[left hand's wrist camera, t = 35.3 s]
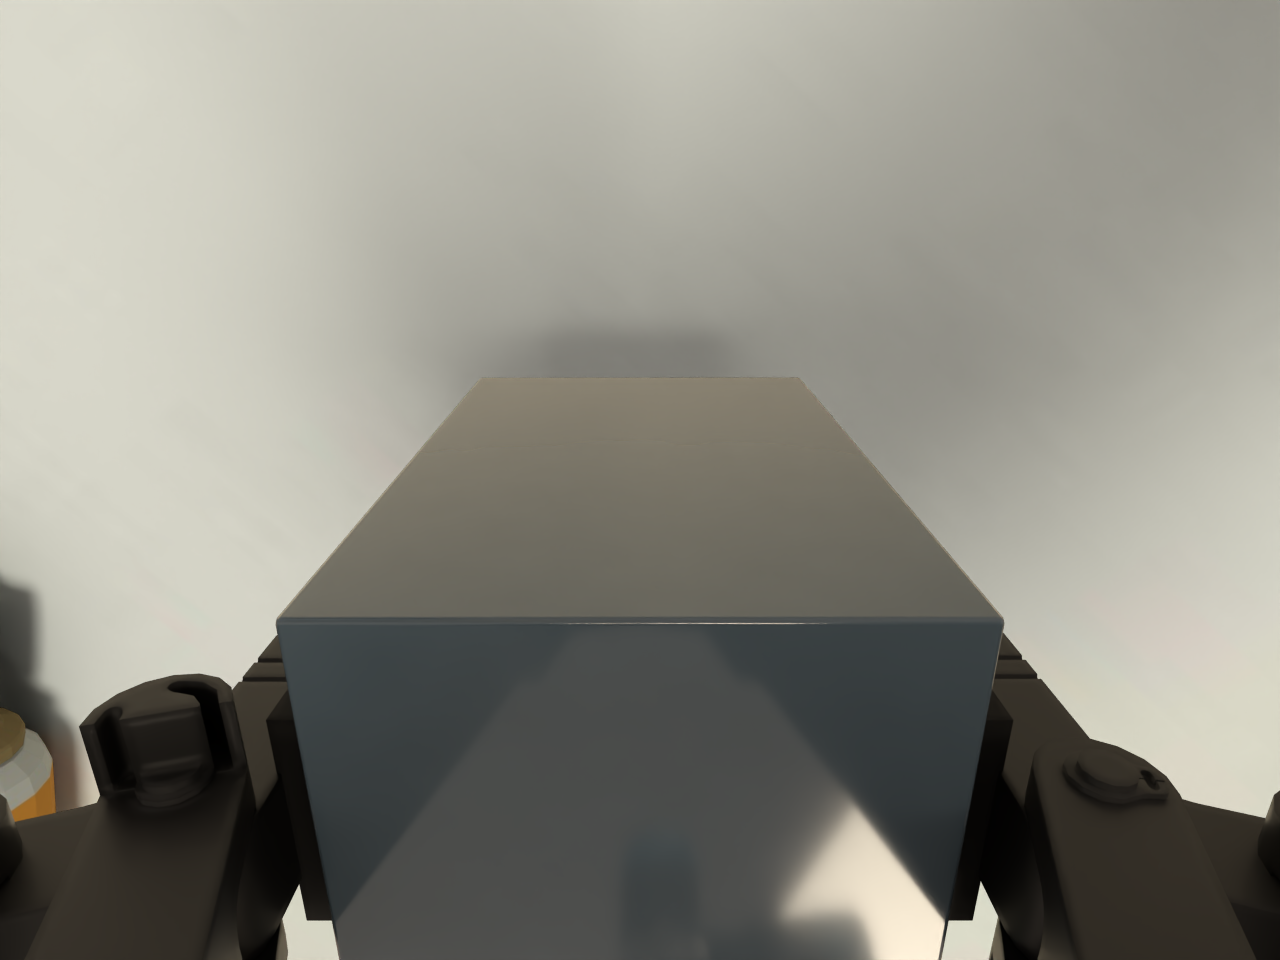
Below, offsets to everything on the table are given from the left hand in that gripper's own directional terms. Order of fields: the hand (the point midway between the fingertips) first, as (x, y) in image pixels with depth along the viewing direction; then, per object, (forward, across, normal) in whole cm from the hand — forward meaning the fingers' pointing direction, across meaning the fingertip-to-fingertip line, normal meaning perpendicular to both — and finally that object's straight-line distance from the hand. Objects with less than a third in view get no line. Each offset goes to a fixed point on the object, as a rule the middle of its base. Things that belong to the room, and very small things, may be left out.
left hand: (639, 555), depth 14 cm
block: (+1, 0, 0) cm, 1 cm away
